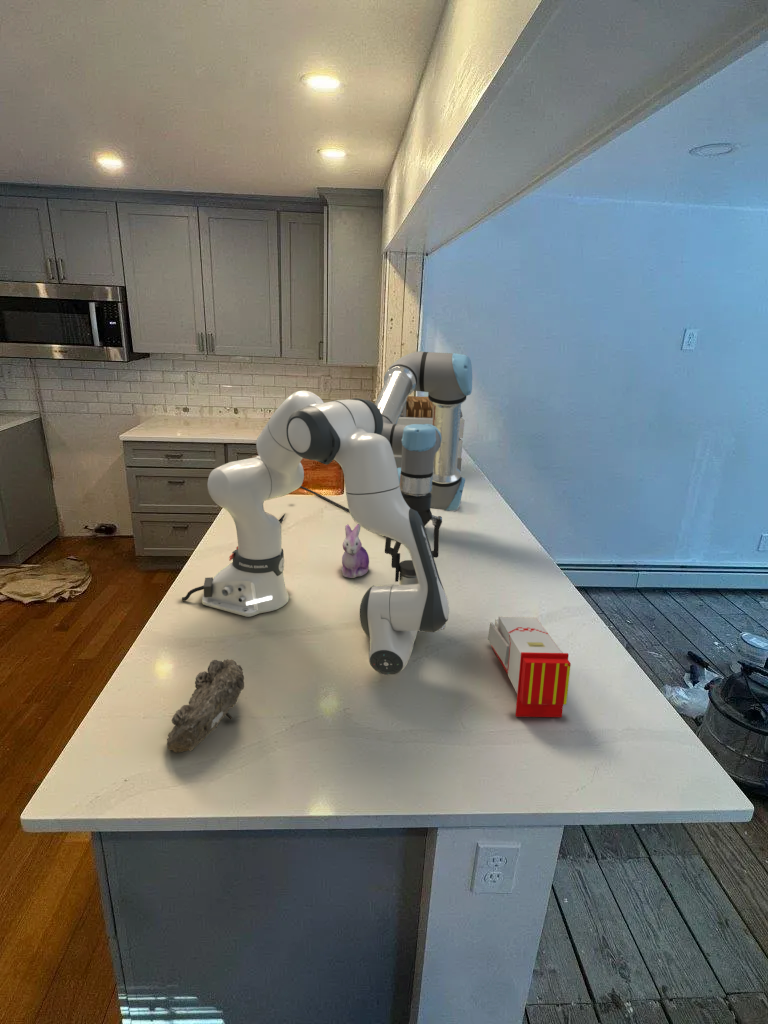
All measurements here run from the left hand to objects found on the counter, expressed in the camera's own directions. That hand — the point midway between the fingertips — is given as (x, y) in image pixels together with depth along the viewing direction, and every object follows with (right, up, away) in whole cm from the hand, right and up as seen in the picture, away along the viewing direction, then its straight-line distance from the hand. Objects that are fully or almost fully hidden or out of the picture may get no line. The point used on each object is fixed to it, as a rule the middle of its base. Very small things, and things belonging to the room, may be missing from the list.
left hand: (409, 596), depth 143 cm
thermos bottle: (0, -6, +1) cm, 6 cm away
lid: (0, +8, -4) cm, 9 cm away
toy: (+24, -15, -19) cm, 34 cm away
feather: (-44, +20, +67) cm, 82 cm away
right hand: (0, +5, -3) cm, 5 cm away
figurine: (-15, +3, +26) cm, 30 cm away
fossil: (-39, -18, -35) cm, 55 cm away
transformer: (+11, +40, +132) cm, 138 cm away
